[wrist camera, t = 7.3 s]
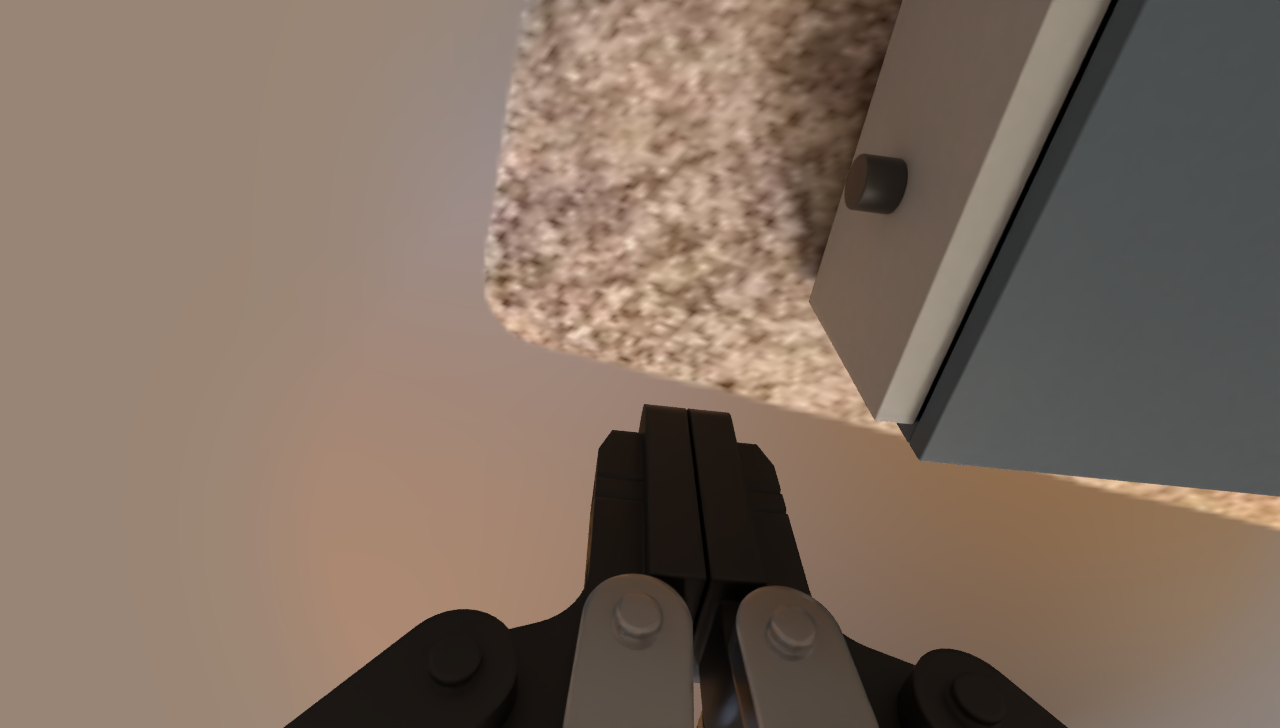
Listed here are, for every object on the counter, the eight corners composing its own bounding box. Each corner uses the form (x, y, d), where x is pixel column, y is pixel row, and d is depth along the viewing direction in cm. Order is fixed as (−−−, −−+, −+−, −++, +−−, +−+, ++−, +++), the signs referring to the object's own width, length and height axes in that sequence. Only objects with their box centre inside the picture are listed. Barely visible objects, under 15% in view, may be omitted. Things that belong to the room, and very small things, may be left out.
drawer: (778, 298, 24) (834, 416, 17) (875, -45, 18) (1015, -64, 11) (1123, 339, 25) (1297, 465, 19) (1321, 28, 19) (1684, 51, 13)
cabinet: (826, 308, 25) (918, 461, 17) (946, -55, 19) (1188, -87, 11) (1150, 346, 26) (1380, 507, 18) (1371, 16, 20) (1887, 38, 12)
